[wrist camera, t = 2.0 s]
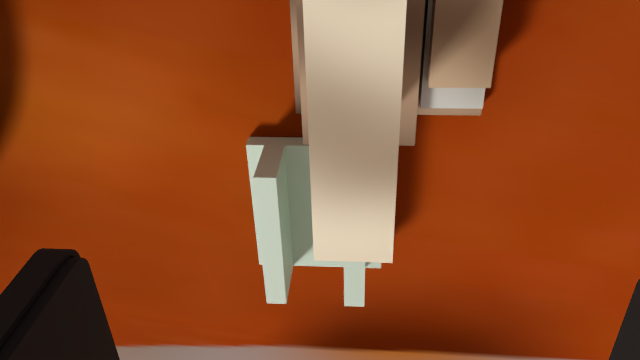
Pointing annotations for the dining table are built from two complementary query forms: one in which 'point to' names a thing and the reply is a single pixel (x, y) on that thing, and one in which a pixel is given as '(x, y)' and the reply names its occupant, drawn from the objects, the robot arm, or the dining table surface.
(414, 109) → the rack
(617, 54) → the dining table surface
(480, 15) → the offcut stack
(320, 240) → the birch board
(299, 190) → the slotted stand
